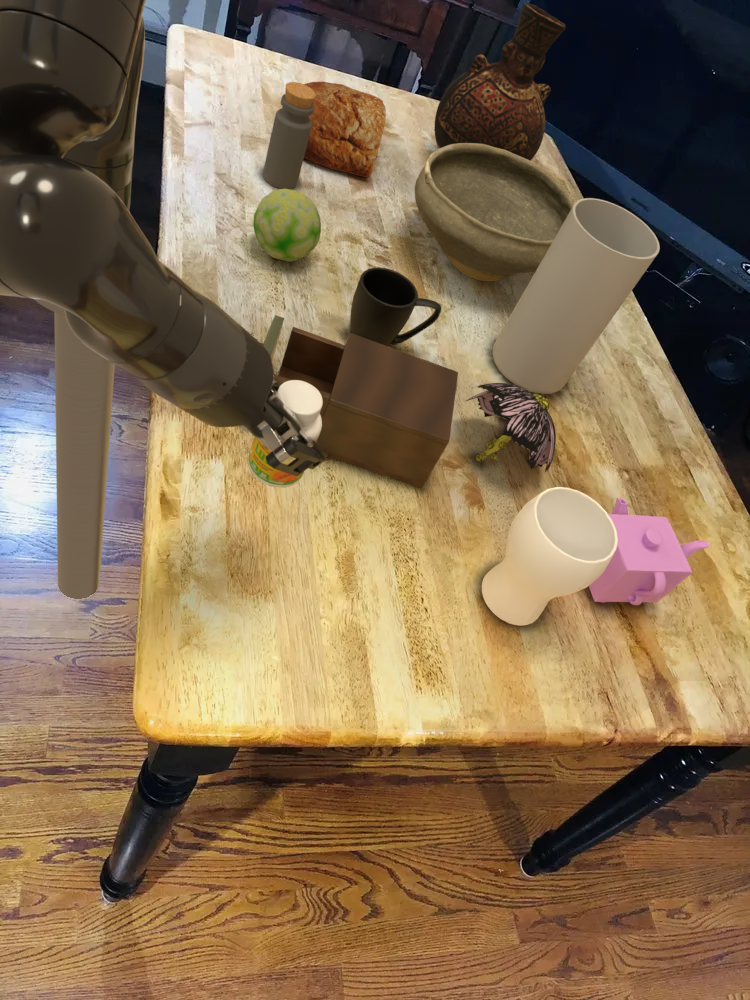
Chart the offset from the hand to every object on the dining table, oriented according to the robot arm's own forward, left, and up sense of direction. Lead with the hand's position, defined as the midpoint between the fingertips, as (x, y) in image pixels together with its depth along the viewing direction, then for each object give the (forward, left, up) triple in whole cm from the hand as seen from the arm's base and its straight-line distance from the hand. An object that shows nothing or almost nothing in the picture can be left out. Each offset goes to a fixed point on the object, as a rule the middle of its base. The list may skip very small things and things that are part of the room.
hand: (302, 434), depth 69 cm
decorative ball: (-11, +51, -18) cm, 55 cm away
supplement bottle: (-1, -1, -4) cm, 5 cm away
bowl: (+19, +69, -18) cm, 74 cm away
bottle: (-16, +71, -18) cm, 75 cm away
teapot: (+42, +11, -18) cm, 47 cm away
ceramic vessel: (+16, +99, -18) cm, 102 cm away
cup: (+29, +3, -18) cm, 34 cm away
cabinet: (+9, +21, -18) cm, 29 cm away
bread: (-12, +89, -18) cm, 92 cm away
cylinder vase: (+30, +46, -18) cm, 58 cm away
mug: (+7, +39, -18) cm, 43 cm away
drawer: (-3, +21, -17) cm, 27 cm away
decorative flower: (+26, +26, -18) cm, 41 cm away
